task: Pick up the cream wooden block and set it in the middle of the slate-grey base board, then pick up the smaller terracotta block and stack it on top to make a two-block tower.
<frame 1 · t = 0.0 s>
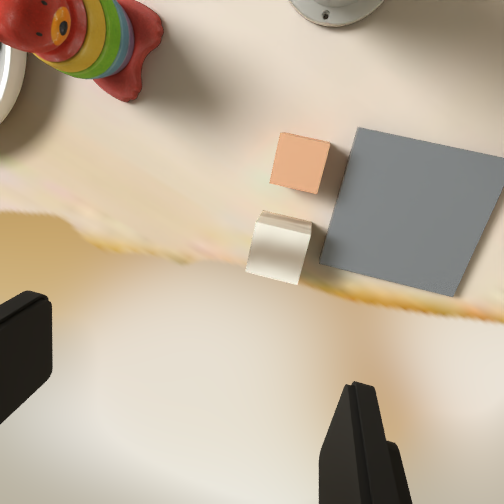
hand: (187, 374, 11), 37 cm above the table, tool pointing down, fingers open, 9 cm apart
cream block: (281, 239, 48), on the table
terracotta block: (300, 160, 44), on the table
base board: (405, 213, 44), on the table
stacking bear: (116, 44, 43), on the table
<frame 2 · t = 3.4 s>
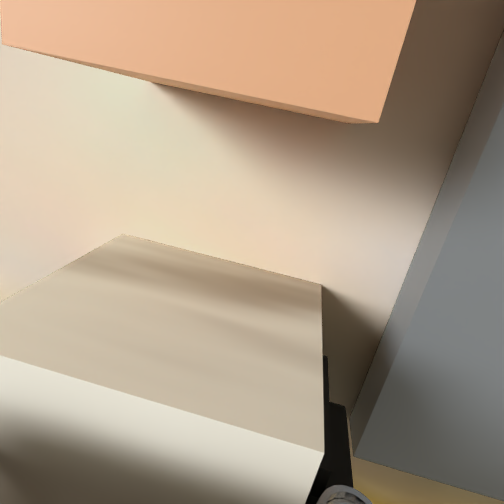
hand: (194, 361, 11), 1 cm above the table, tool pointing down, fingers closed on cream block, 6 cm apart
cream block: (204, 343, 12), on the table, touching gripper
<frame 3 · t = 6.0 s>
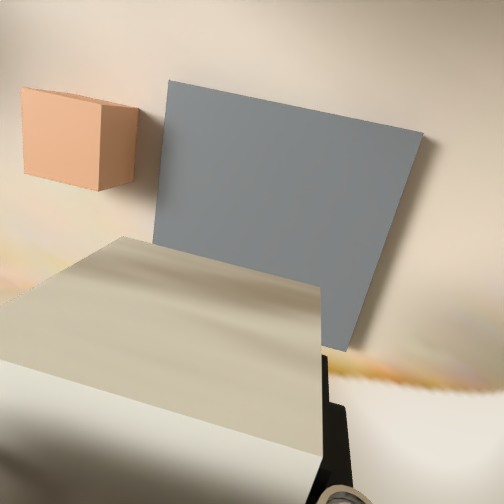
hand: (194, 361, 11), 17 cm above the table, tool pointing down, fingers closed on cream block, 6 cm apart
cream block: (203, 345, 12), point 16 cm above the table, touching gripper
terracotta block: (103, 138, 28), on the table
base board: (267, 222, 28), on the table
when the fingers open (3 cm above the table, at t = 9.1 s): cream block stays where it is, resting on base board.
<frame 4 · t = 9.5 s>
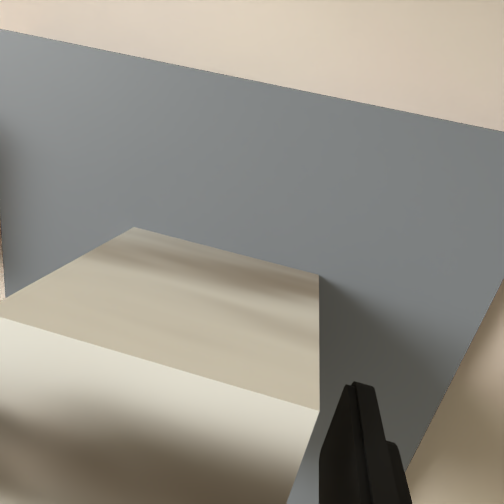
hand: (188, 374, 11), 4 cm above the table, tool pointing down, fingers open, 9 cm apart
cream block: (209, 330, 13), point 1 cm above the table, touching base board
base board: (221, 311, 15), on the table
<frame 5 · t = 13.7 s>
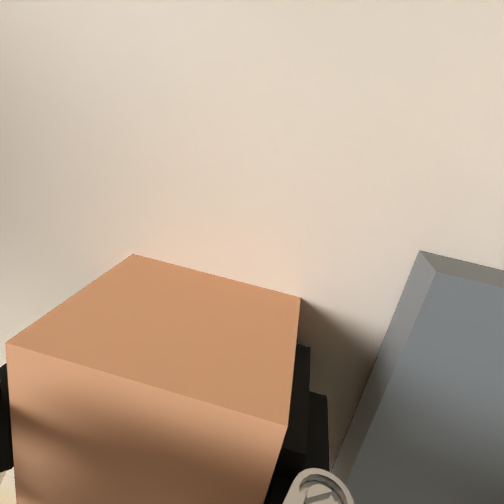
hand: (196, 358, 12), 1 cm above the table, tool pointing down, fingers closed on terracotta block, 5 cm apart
terracotta block: (202, 346, 12), on the table, touching gripper
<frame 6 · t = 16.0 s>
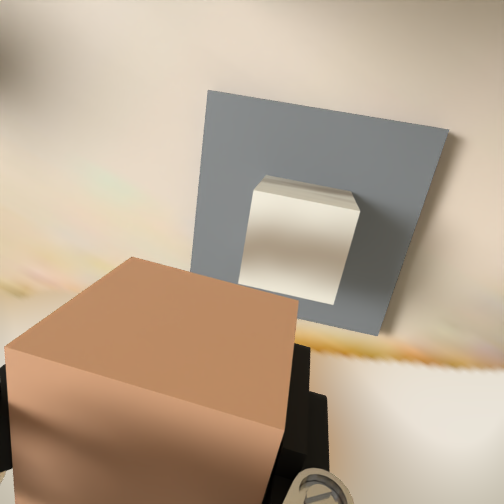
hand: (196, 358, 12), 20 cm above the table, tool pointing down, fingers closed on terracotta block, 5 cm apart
cream block: (299, 223, 28), point 1 cm above the table, touching base board
terracotta block: (200, 349, 12), point 19 cm above the table, touching gripper
base board: (300, 218, 29), on the table
when the fingers open (9 cm above the table, at t = 18.6 s): terracotta block stays where it is, resting on cream block.
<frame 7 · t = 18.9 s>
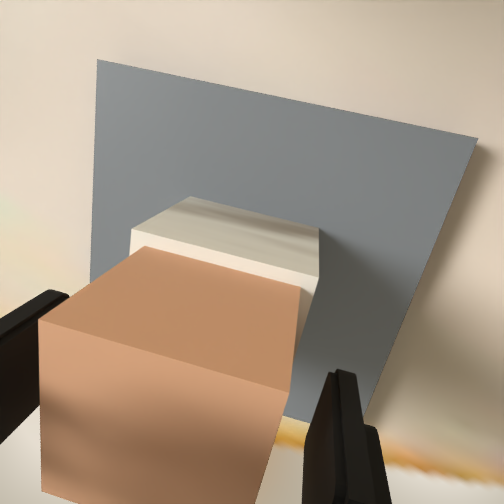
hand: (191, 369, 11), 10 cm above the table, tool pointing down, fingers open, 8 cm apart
cream block: (240, 271, 19), point 1 cm above the table, touching base board, terracotta block
terracotta block: (208, 333, 13), point 7 cm above the table, touching cream block
base board: (247, 260, 20), on the table
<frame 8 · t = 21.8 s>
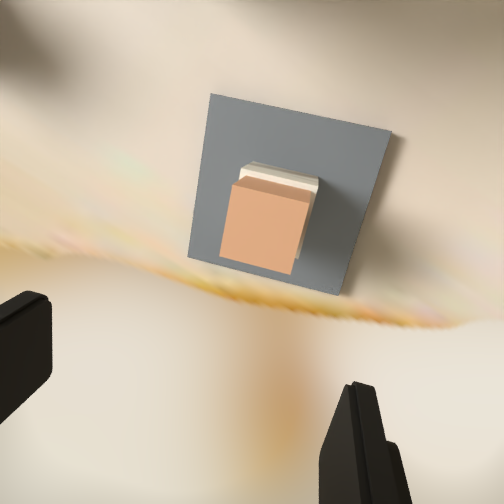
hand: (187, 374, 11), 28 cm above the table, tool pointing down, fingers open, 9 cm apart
cream block: (277, 200, 36), point 1 cm above the table, touching base board, terracotta block
terracotta block: (270, 214, 30), point 7 cm above the table, touching cream block
base board: (280, 198, 37), on the table
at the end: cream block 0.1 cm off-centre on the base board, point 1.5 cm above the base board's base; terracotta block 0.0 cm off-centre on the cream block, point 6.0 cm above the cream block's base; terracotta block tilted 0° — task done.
